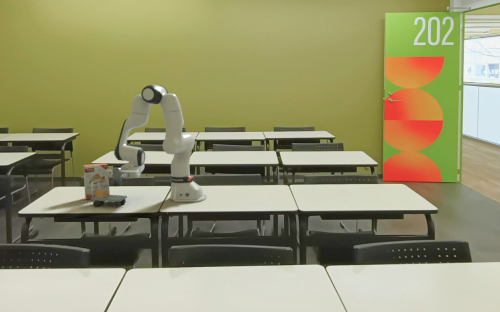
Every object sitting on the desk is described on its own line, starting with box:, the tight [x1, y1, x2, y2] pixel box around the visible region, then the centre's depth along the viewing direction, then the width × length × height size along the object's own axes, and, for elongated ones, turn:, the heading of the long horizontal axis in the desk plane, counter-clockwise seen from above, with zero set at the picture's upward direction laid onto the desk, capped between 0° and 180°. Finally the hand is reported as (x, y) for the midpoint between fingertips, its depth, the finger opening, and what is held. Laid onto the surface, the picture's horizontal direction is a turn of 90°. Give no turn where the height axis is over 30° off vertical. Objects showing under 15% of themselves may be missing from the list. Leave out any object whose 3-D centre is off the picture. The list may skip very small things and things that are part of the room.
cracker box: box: [82, 162, 111, 201], centre depth 292 cm, size 14×6×21 cm, turn 117°
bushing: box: [111, 166, 123, 187], centre depth 273 cm, size 5×5×10 cm
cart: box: [90, 179, 128, 208], centre depth 276 cm, size 18×9×14 cm, turn 77°
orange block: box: [95, 190, 107, 198], centre depth 277 cm, size 5×5×4 cm
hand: (116, 176), depth 272 cm, fingers closed on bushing, 5 cm apart
